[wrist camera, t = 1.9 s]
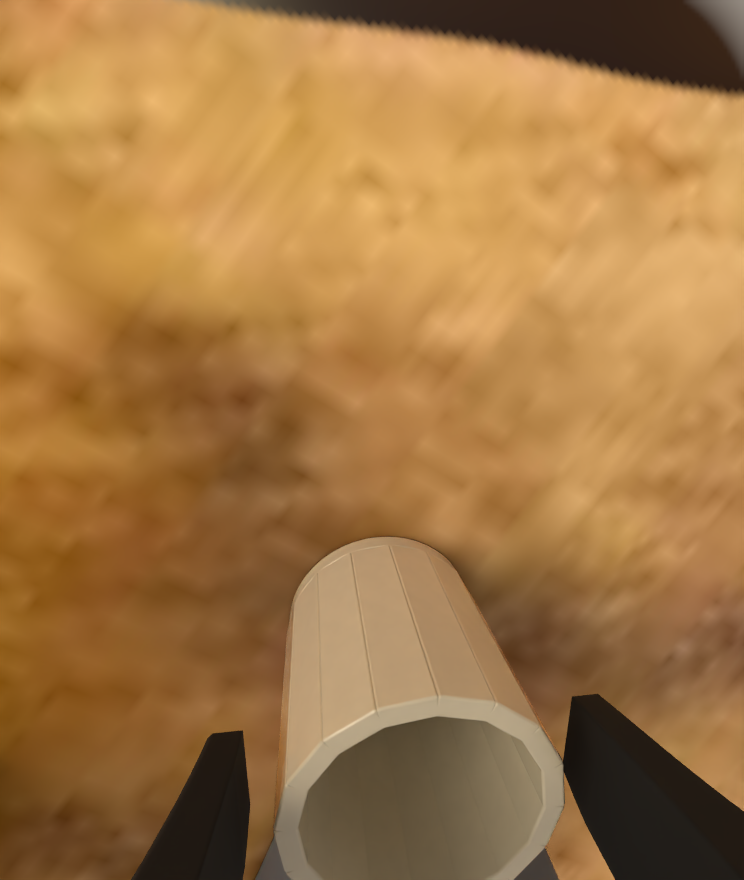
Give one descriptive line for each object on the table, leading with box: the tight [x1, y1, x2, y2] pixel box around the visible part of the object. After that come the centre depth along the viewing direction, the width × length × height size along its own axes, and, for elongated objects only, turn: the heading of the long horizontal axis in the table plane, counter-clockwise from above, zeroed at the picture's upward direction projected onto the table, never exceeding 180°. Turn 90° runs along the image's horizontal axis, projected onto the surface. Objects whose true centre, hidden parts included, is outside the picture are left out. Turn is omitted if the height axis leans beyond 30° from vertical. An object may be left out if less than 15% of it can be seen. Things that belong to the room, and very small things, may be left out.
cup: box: [273, 537, 565, 880], centre depth 12 cm, size 6×6×6 cm
